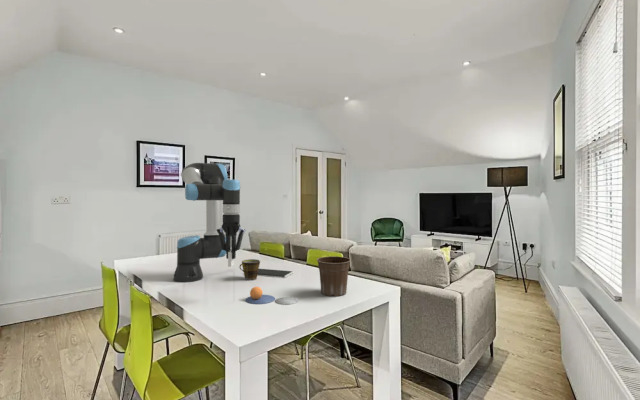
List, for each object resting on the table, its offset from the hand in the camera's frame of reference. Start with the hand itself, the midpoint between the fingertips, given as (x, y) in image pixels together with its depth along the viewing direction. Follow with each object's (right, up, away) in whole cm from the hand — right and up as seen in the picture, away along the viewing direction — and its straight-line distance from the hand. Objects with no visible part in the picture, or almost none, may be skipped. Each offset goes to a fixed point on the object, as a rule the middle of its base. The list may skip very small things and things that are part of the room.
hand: (230, 265), depth 150 cm
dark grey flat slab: (+10, -15, +47) cm, 50 cm away
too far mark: (+26, -15, -4) cm, 30 cm away
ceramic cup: (+1, -14, +33) cm, 36 cm away
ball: (+12, -12, -2) cm, 17 cm away
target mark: (+14, -15, -2) cm, 20 cm away
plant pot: (+47, -15, +9) cm, 50 cm away
